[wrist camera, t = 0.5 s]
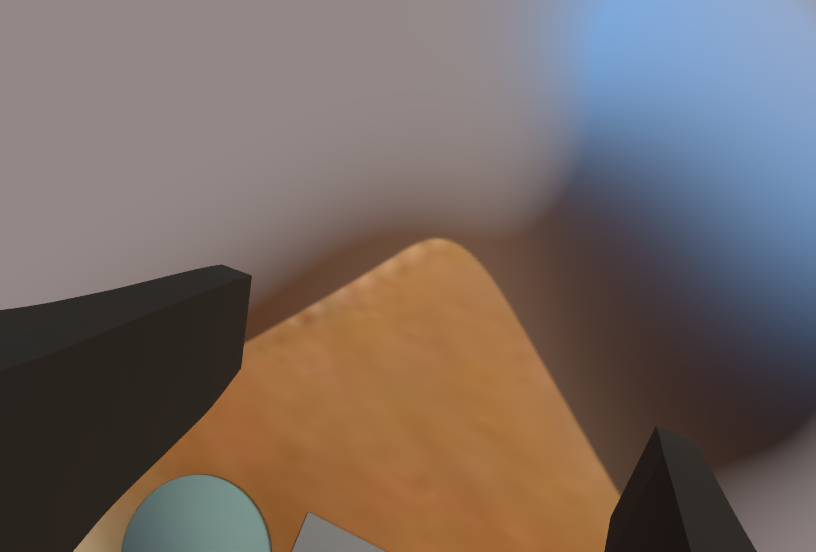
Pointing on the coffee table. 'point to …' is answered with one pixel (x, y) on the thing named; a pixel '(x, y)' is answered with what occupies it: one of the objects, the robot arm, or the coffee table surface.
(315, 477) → the coffee table surface
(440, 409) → the coffee table surface
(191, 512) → the coaster
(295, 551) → the grey square plate
